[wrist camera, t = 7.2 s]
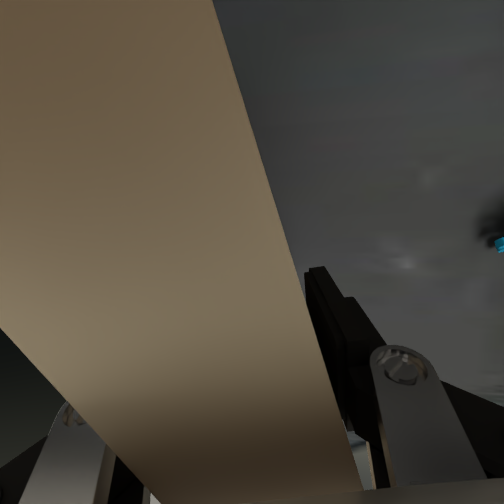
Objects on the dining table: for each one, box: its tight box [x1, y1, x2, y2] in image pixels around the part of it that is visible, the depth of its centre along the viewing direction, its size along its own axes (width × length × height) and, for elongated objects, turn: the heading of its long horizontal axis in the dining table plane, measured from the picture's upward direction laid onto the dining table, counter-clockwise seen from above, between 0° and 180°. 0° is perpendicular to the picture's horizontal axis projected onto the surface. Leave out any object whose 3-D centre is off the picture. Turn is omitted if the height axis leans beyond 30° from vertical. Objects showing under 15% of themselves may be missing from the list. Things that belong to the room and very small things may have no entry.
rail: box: [0, 0, 364, 504], centre depth 8 cm, size 18×4×7 cm, turn 19°
